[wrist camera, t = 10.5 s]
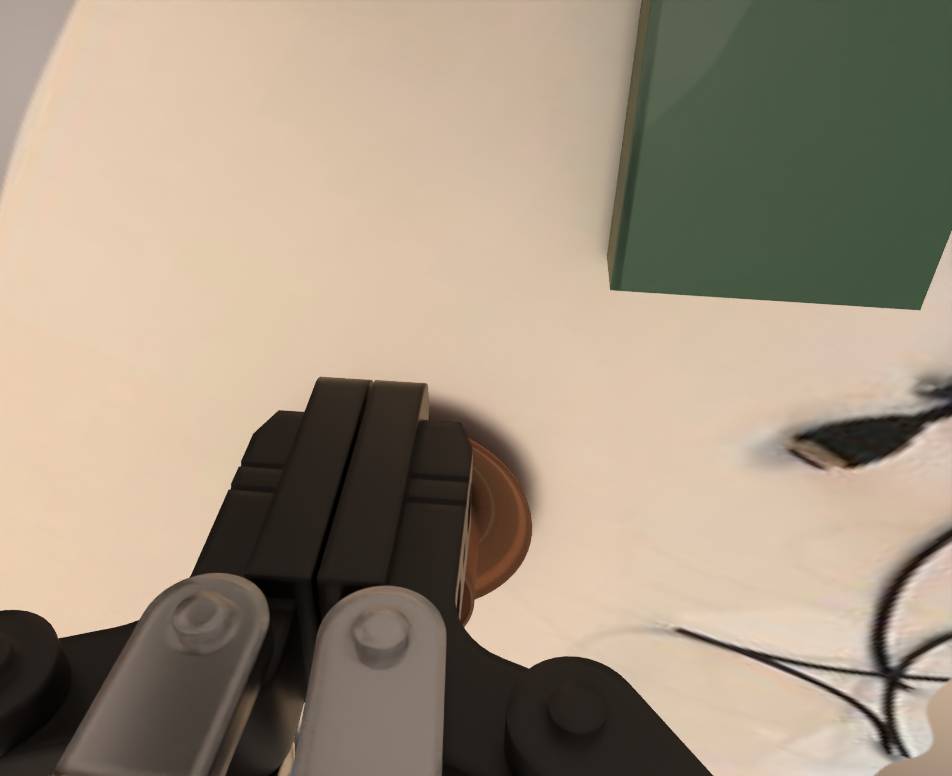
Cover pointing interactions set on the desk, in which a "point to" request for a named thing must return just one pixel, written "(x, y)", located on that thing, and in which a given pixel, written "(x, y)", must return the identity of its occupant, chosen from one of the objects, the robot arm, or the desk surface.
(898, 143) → the book
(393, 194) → the desk surface
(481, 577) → the cup and saucer
